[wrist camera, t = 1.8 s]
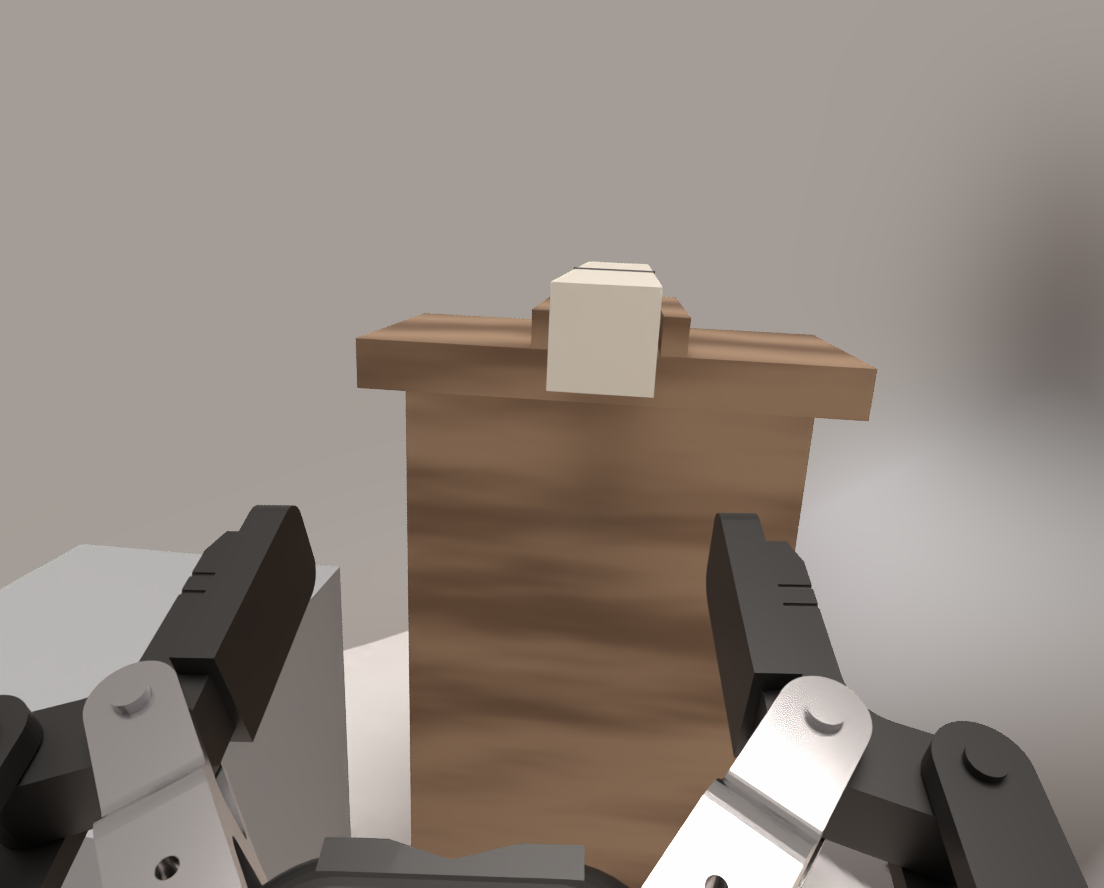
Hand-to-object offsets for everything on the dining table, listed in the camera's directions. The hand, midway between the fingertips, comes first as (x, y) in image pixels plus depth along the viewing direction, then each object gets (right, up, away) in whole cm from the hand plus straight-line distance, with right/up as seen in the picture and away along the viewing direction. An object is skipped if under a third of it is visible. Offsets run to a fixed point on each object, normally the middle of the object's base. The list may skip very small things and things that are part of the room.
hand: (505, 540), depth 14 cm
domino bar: (+3, +6, +15) cm, 16 cm away
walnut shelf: (+2, -24, +27) cm, 36 cm away
